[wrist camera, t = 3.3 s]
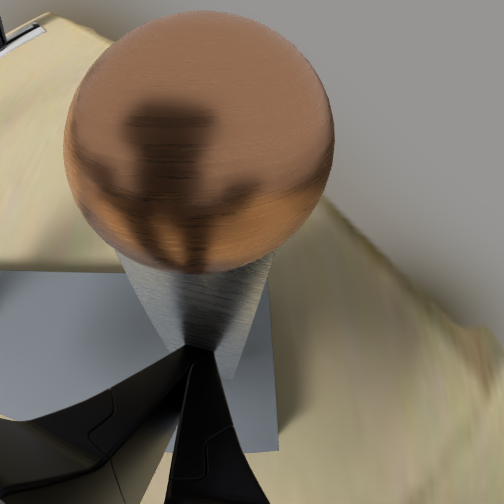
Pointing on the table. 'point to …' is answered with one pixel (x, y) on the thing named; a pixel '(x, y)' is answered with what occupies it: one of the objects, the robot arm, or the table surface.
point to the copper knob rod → (199, 167)
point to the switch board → (110, 350)
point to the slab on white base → (18, 37)
